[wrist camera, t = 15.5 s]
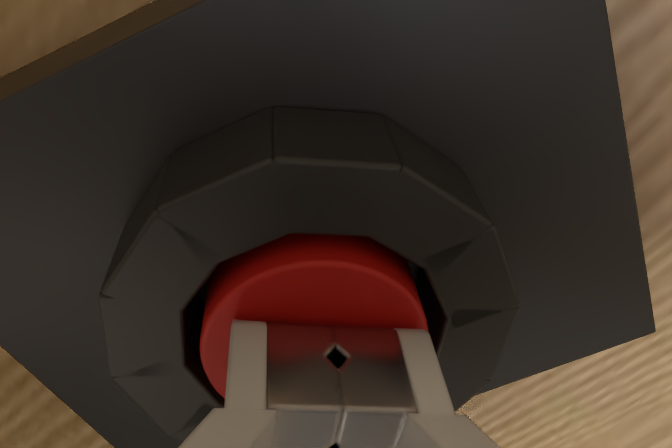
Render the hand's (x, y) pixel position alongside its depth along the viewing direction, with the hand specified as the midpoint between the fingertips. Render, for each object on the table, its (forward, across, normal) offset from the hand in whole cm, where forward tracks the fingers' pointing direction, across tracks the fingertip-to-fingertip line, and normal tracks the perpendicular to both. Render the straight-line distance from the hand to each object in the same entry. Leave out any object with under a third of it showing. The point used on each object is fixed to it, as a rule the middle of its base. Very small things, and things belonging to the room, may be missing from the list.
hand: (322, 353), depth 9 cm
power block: (+4, 0, 0) cm, 4 cm away
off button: (+2, 0, 0) cm, 2 cm away
